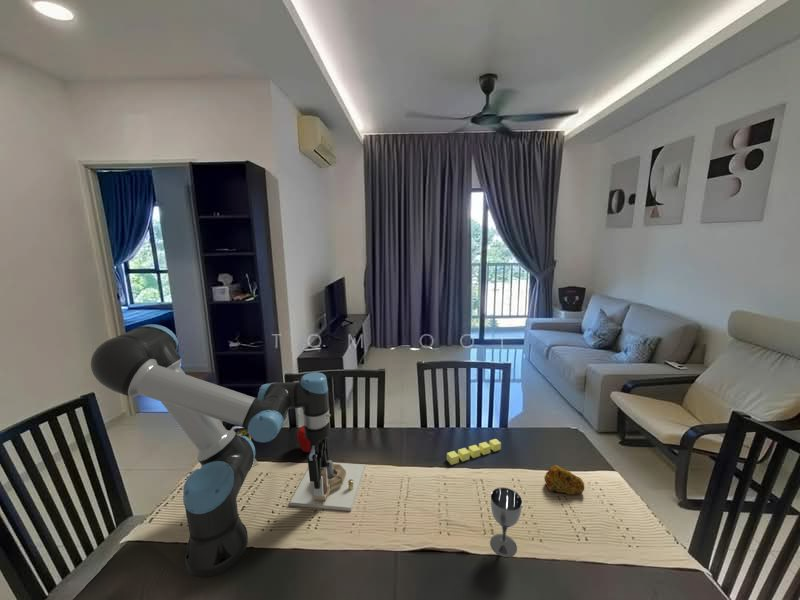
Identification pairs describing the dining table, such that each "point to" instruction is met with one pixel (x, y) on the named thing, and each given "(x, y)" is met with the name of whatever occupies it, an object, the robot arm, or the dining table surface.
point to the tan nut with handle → (331, 481)
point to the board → (337, 497)
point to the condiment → (245, 433)
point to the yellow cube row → (473, 451)
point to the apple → (303, 440)
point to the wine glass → (505, 519)
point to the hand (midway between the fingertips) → (321, 490)
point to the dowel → (350, 484)
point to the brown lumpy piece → (563, 481)
